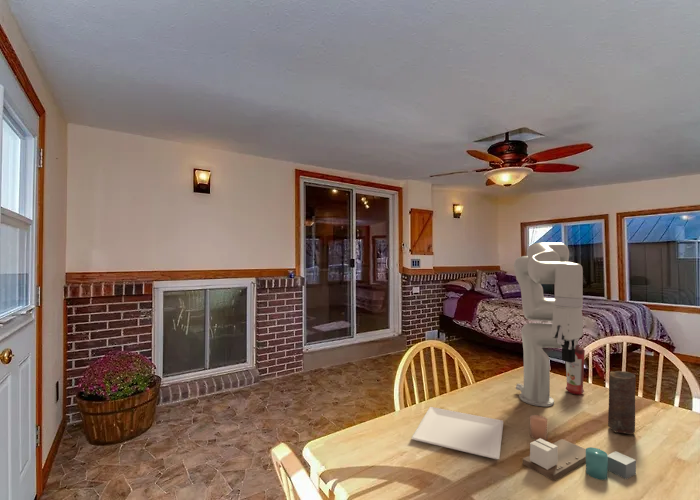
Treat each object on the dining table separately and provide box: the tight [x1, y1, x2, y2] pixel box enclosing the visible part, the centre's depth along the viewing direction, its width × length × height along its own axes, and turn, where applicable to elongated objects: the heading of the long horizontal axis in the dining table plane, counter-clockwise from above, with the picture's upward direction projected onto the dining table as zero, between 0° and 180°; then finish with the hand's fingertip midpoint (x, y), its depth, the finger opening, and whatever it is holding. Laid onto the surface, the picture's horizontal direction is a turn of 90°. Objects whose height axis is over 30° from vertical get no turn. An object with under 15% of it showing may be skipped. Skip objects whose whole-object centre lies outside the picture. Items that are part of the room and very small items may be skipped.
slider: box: [529, 438, 558, 470], centre depth 102 cm, size 5×5×5 cm
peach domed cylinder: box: [529, 414, 548, 441], centre depth 119 cm, size 5×5×6 cm
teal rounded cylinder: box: [585, 447, 609, 481], centre depth 99 cm, size 5×5×6 cm
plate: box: [411, 406, 504, 460], centre depth 121 cm, size 26×26×2 cm
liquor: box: [565, 340, 586, 396], centre depth 156 cm, size 7×7×28 cm
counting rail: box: [522, 438, 586, 482], centre depth 106 cm, size 9×21×2 cm, turn 122°
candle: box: [607, 370, 637, 435], centre depth 123 cm, size 8×7×20 cm
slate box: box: [607, 450, 637, 480], centre depth 100 cm, size 5×5×4 cm
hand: (568, 361), depth 112 cm, fingers closed
